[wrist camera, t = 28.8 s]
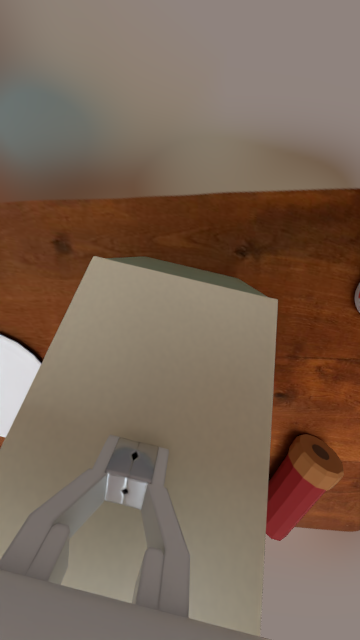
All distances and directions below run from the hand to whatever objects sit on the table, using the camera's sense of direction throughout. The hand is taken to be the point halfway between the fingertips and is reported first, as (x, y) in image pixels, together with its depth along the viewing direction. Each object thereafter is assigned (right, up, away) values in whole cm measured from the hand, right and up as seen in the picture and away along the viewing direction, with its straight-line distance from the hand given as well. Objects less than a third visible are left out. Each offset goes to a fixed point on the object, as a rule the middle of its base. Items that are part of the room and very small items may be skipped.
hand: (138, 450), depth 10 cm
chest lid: (0, +1, +2) cm, 2 cm away
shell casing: (+23, -23, +29) cm, 43 cm away
